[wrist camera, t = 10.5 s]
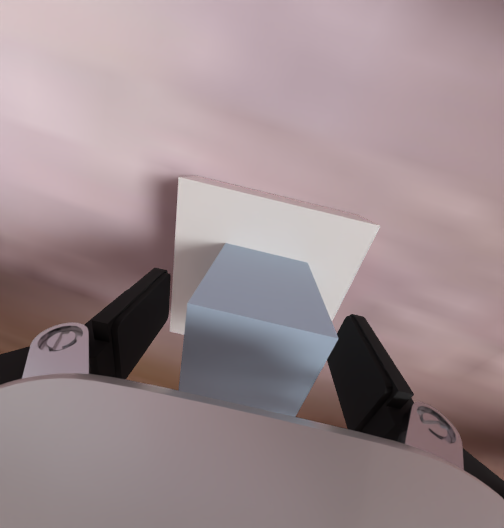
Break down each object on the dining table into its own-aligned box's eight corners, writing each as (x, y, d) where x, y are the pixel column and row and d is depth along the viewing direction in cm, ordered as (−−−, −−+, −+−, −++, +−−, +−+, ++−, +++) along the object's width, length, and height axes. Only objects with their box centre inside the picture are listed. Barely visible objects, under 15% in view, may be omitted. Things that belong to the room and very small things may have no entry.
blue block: (307, 262, 12) (338, 338, 6) (283, 325, 14) (292, 422, 9) (225, 242, 12) (187, 302, 6) (214, 309, 14) (178, 396, 9)
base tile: (358, 214, 13) (380, 225, 11) (304, 335, 18) (310, 363, 15) (197, 175, 13) (178, 176, 11) (185, 307, 18) (169, 331, 15)
